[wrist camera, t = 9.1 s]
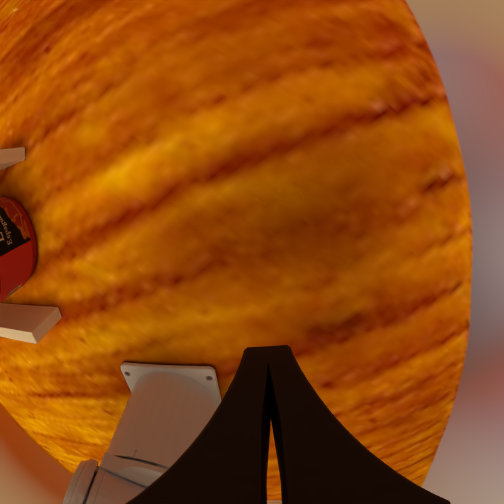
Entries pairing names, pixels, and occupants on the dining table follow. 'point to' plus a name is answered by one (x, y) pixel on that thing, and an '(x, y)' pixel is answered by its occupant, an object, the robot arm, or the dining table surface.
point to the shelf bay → (15, 315)
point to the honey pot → (274, 502)
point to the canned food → (15, 247)
